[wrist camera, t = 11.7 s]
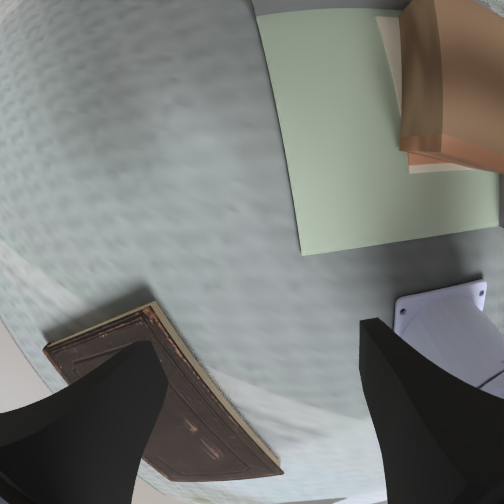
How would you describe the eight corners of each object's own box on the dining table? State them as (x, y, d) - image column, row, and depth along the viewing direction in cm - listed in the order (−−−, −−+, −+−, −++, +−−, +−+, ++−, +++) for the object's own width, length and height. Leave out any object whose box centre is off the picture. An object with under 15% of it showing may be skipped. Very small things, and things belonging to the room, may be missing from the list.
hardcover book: (161, 292, 21) (148, 307, 18) (284, 458, 26) (283, 474, 24) (51, 339, 24) (39, 351, 22) (172, 468, 30) (167, 481, 28)
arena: (506, 222, 15) (525, 232, 13) (301, 253, 18) (303, 268, 16) (471, 12, 10) (488, 3, 8) (252, 4, 13) (248, -14, 11)
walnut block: (398, 15, 12) (429, -19, 7) (468, 42, 11) (510, 22, 6) (399, 150, 14) (441, 152, 10) (470, 168, 14) (520, 178, 9)
